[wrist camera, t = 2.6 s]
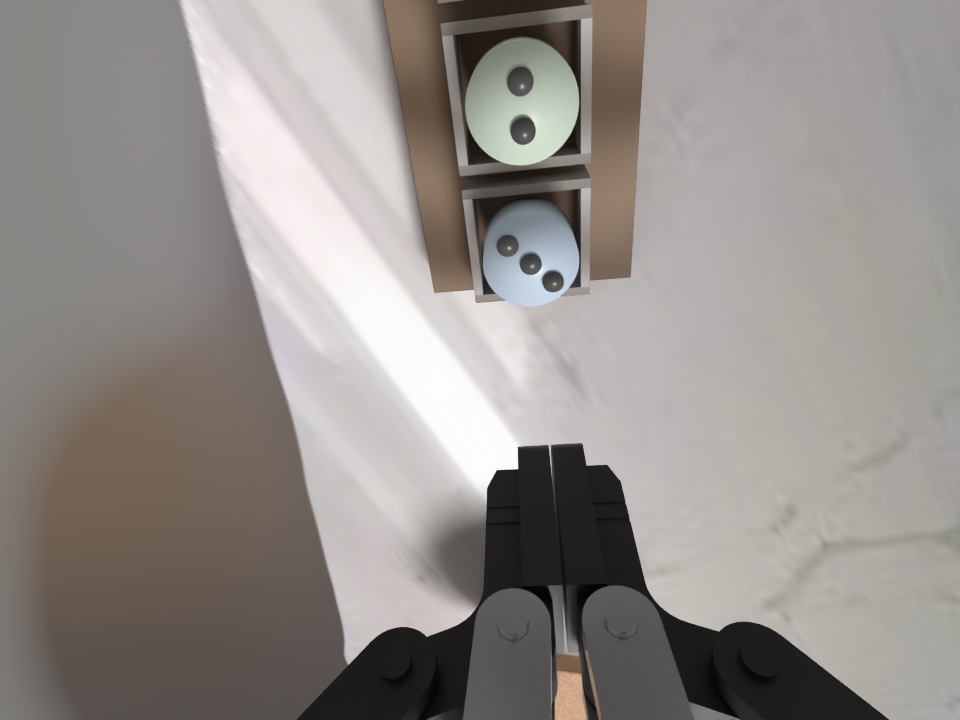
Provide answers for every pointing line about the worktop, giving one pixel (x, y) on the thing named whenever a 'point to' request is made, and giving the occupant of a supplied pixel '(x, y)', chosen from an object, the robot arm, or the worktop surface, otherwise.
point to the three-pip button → (530, 252)
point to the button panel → (491, 184)
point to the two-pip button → (521, 101)
